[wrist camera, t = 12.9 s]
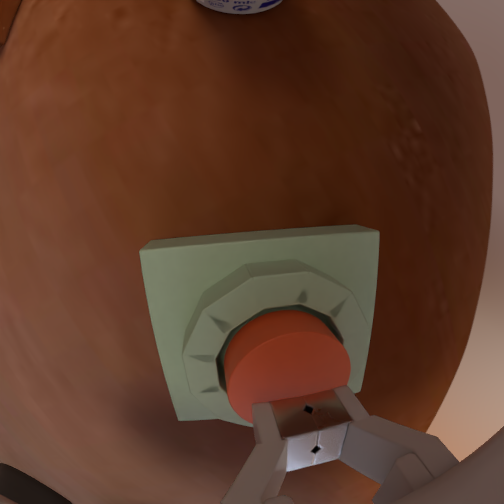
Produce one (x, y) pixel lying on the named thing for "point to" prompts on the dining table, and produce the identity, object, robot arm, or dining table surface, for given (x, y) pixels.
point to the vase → (26, 488)
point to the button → (282, 360)
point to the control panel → (7, 17)
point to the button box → (253, 300)
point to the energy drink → (239, 5)
